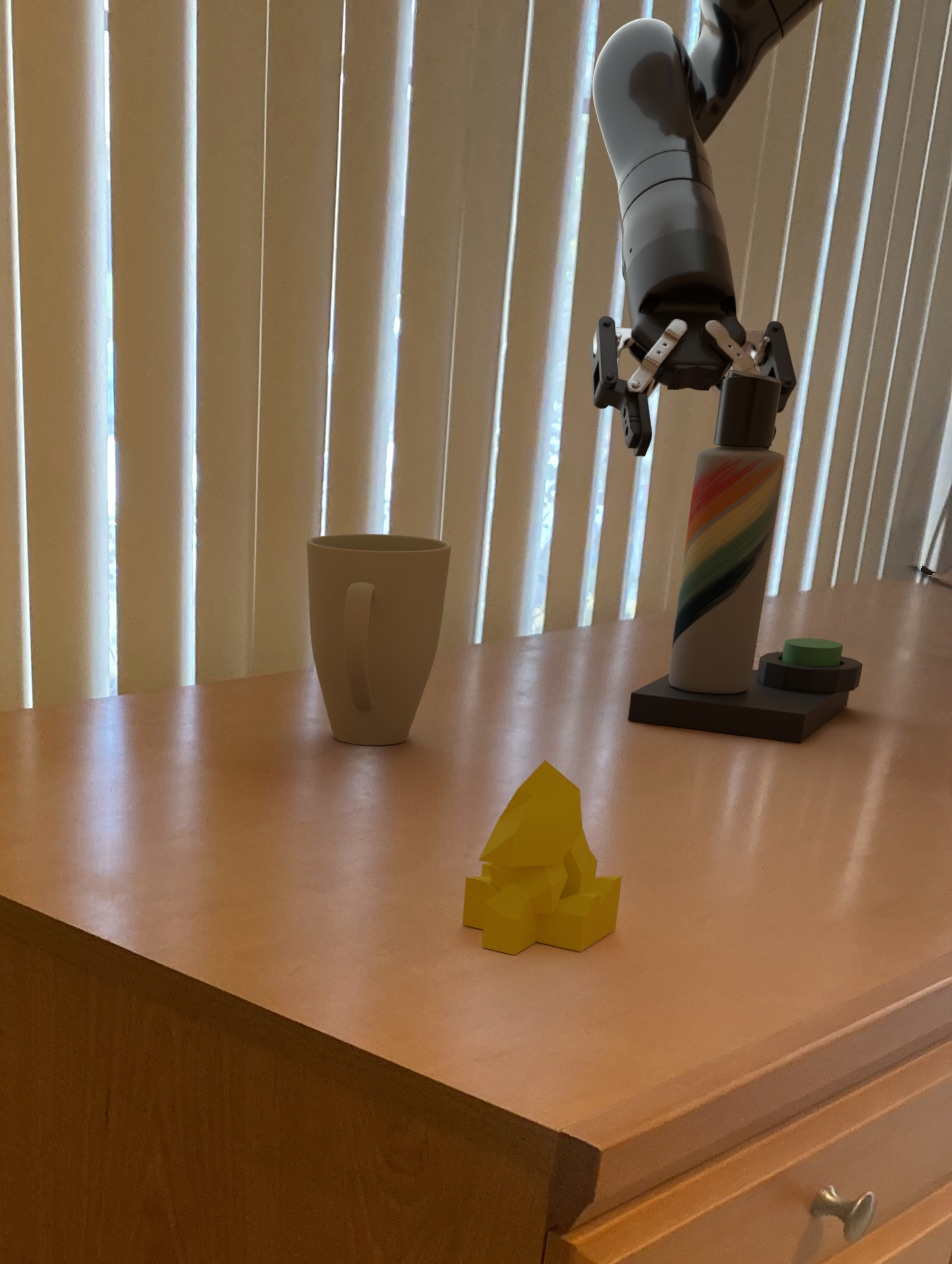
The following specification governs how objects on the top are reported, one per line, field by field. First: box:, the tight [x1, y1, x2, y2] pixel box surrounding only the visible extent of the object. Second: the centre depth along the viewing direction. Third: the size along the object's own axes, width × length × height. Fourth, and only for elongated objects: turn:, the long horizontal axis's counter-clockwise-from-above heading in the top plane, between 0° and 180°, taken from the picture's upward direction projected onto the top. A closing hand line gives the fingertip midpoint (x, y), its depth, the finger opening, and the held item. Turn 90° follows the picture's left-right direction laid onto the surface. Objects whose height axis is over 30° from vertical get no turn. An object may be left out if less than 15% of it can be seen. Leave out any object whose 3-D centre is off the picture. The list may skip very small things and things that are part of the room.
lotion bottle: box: [668, 369, 785, 694], centre depth 110 cm, size 6×6×20 cm
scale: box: [627, 651, 863, 744], centre depth 115 cm, size 14×13×4 cm
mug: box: [306, 533, 452, 746], centre depth 103 cm, size 11×10×12 cm
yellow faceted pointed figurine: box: [461, 759, 623, 956], centre depth 72 cm, size 6×8×8 cm
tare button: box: [782, 637, 844, 666], centre depth 116 cm, size 4×4×2 cm
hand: (702, 449), depth 115 cm, fingers open, 8 cm apart
